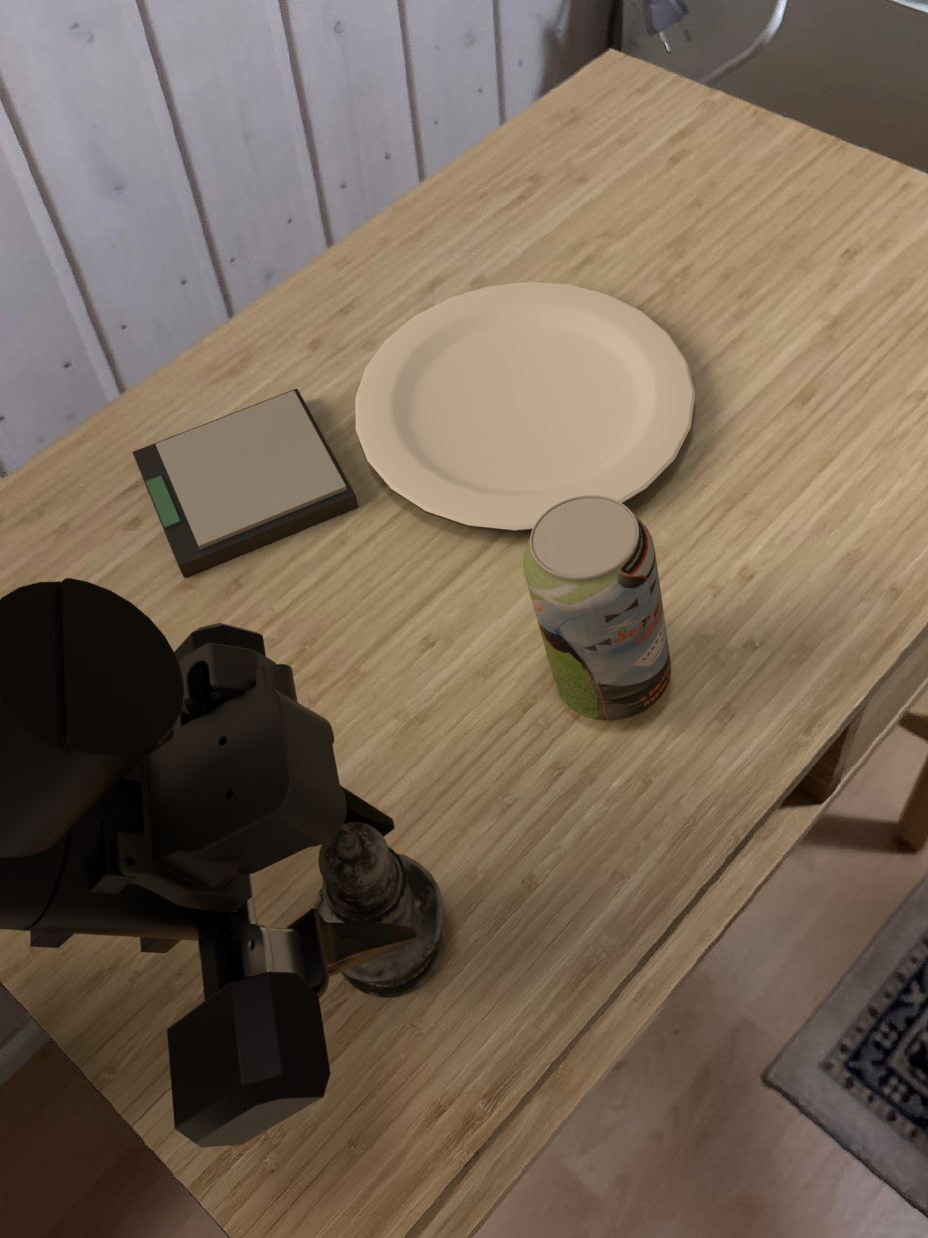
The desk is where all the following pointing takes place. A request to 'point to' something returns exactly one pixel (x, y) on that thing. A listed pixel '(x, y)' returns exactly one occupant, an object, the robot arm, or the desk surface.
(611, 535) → the beverage can
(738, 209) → the desk surface
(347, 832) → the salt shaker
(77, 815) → the robot arm
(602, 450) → the plate
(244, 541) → the scale
